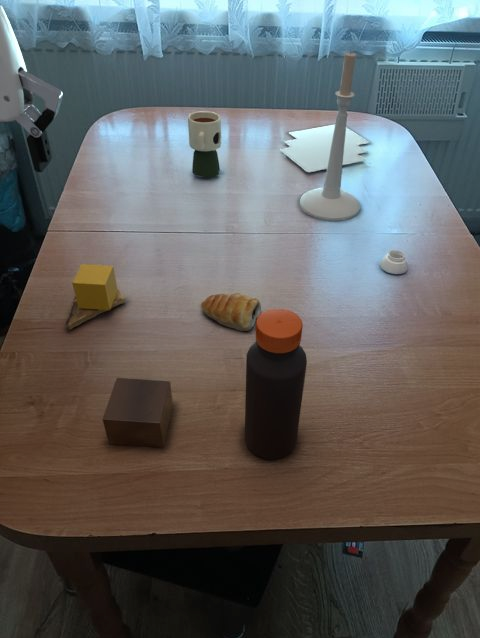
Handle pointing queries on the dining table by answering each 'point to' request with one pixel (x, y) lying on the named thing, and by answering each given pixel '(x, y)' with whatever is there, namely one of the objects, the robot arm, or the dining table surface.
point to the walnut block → (138, 412)
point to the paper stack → (321, 147)
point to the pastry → (233, 310)
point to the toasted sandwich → (88, 312)
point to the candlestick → (335, 162)
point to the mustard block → (95, 287)
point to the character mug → (205, 142)
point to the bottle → (274, 384)
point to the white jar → (394, 262)
